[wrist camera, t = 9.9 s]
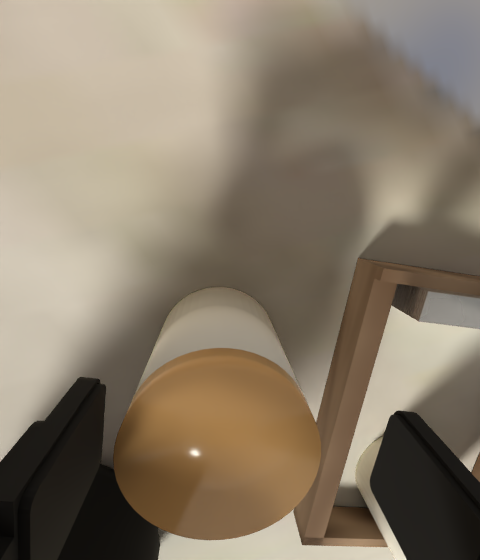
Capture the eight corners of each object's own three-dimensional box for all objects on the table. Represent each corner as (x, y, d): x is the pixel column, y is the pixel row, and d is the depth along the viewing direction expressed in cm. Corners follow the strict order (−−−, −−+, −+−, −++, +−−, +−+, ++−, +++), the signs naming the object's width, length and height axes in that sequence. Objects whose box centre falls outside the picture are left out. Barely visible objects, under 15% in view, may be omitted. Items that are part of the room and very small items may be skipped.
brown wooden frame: (293, 512, 20) (304, 554, 18) (358, 258, 16) (383, 268, 14) (468, 518, 22) (500, 558, 19) (566, 289, 18) (621, 303, 15)
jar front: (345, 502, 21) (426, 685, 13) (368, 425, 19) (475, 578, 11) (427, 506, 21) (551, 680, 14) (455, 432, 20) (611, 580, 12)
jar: (152, 379, 17) (99, 528, 9) (173, 275, 16) (132, 349, 8) (257, 397, 18) (288, 549, 10) (286, 300, 16) (348, 389, 9)
